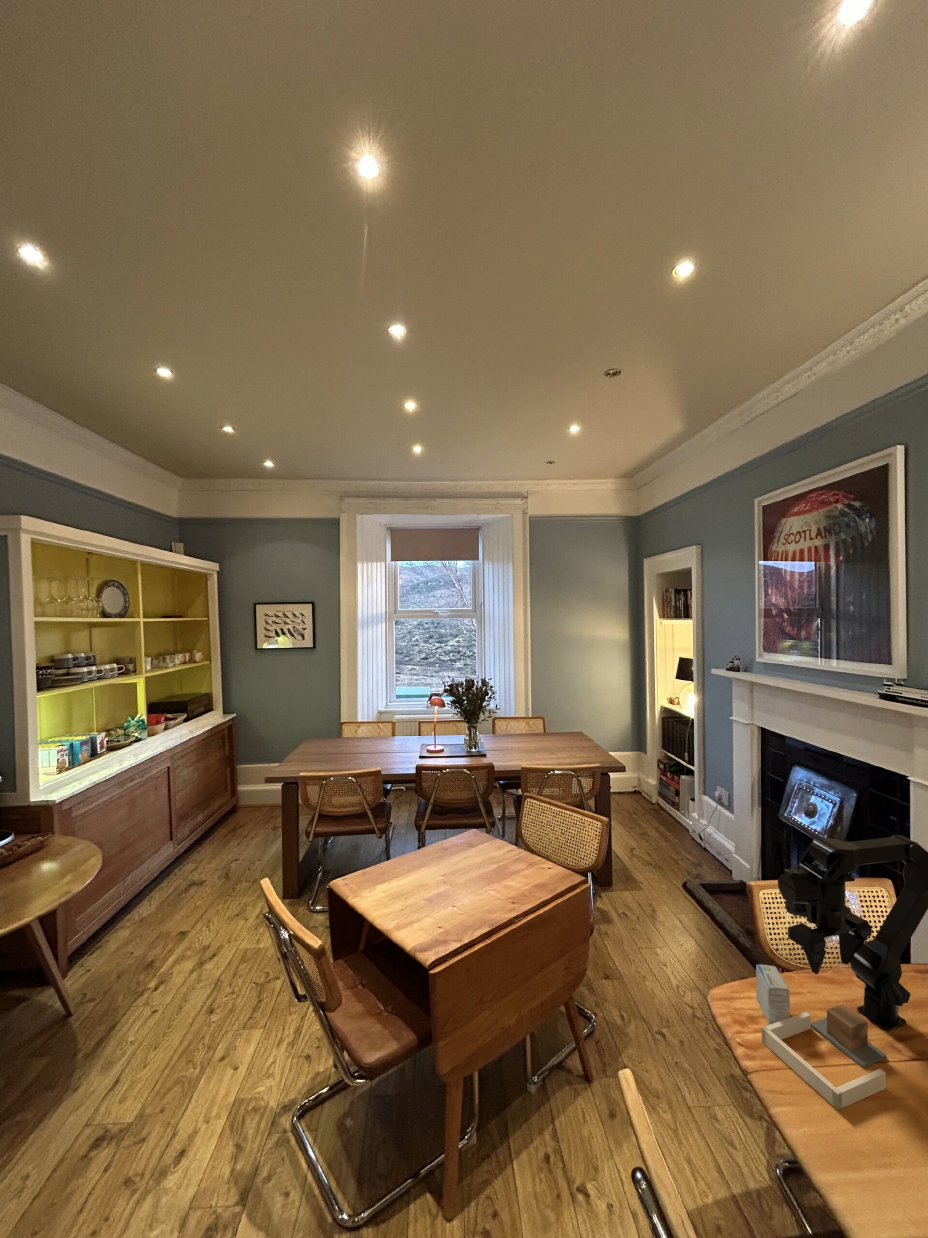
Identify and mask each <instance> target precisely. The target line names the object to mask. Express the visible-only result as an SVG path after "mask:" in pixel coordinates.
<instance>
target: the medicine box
mask: <svg viewBox="0 0 928 1238" xmlns="http://www.w3.org/2000/svg"><path fill="white" fill-rule="evenodd" d="M755 969H756V970H755V978H756V979H755V980H756V983H755V985H756V987H755V988H756V993H755V994H756V1001H757V1003H758V1004H759V1006H760V1008H761V1011H762V1012H763V1015H764V1016H765V1018H766V1020H767V1022H768V1025H771V1024H774V1023H776V1022H779V1021H782V1020H785V1019H788V1018H790V1017H791V1004H790V1003H791V1001H790V998H791V996H790V994H791V993H790V989H789V987H788V985H787V983H786V982H785V980H784V978H783V977H782V975H781V973H780V971H779V969H778V968H777V967H776V966H775V965H769V964H768V965H767V964H756V967H755Z"/></svg>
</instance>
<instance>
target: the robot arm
mask: <svg viewBox="0 0 928 1238" xmlns="http://www.w3.org/2000/svg"><path fill="white" fill-rule="evenodd" d="M811 841H812V842H811V843H810V844H809V846H808V847H807V848H806V850H805V852H804V853H803V855H802V856H801V858H800V859H799V860H798V862H797V866H798V867H800V868H799V869H796V868H795V869H793V868H784V874H780V876H779V877H778V879H777V887H778V891H779V893H780V895H781V897H782V899H783V900H785V909H786V912H787V914H790V915H792V916H794V917H803V918H806V921H807V922H809V923H810V924H811V925H812V924H814V925H815V928H811V927H810V926H808V925H806V924H805V923H804V922H802V923H797V924H795V925H791V926H789V927H787V938H788V939H789V940H790V941H792V942H794V943H796V944H797V945H799V946H800V947H801V948H802V950H803V952H804V955H805V956H806V957H805V958H806V959H807V962H808V964H809V967H810V969H811V971H812V973H813V974H815V975H819V972H820V970H821V968H822V965H823V962H824V960H825V959H824V958H825V957H826V954H827V950H826V949H825V948H826V946H827V941H826V939H830V938H832V937H836V936H838V944H839V955H840V961H841V964H844V965H846V966H847V965H848V964H849V965H850V968H851V970H852V972H854V975H855V978H857V979H858V980H860V981H861V982H862V983H864V985H865V987H864V991H863V992H864V995H863V1005H860V1006H857V1011H858V1012H859V1013H861V1014H862V1015H863V1016H865V1017H867V1018H868V1019H870V1020H871V1021H872V1022H873V1023H875V1024H876V1025H878V1026H879V1027H881V1028H882V1029H884V1030H885V1031H892V1030H894V1029H896V1028H899V1027H902V1026H904V1025H907V1020H906V1019H904V1018H903V1017H902V1016H900V1015H899V1011H900V1009H899V1007H903V1005H904V1004H908V1003H909V1001H910V997H911V993H910V991H908V990H907V988H905V987H904V985H902V984H901V983H900V980H901V976H903V975H902V974H903V971H902V964H901V956H902V955H903V953H904V951H905V949H906V947H907V946H908V944H909V942H910V940H911V939H912V937H913V935H914V933H915V932H916V930H917V928H918V927H919V925H920V923H921V921H922V920H923V919H924V916H925V914H926V913H927V911H928V851H927V850H926V849H925V848H924V847H923V846H921V845H920V843H918V842H916V841H914V840H913V839H909V838H907V837H905V836H903V835H900V834H895V835H892V836H890V837H880V838H872V839H863V840H854V841H846V840H845V841H844V840H840V839H836V838H828V837H817V838H814V839H812V840H811ZM895 861H902V862H903V863H904V867H903V870H902V873H903V880H904V886H903V888H902V890H901V892H900V893H899V896H898V897H897V899H896V900H895V902H894V904H893V905H892V907H891V909H890V910H889V912H888V914H887V915H886V917H885V919H884V921H883V923H882V924H881V926H880V927H879V930H878V931H877V933H876V935H875V936H874V938H873V939H871V940H868V938H869V937H871V936H872V934H873V933H872V928H873V927H872V926H871V924H870V923H869V921H868V920H867V919H864V918H862V917H861V916H858V915H856V914H855V913H853V912H851V907H849V906H847V905H846V882H850V883H851V882H855V881H856V879H855V877H853V875H851V874H850V873H853V872H855V871H856V870H857V869H858V868H859V867H860V866H864V865H871V864H878V863H879V864H880V863H887V862H895ZM814 863H816V864H818V865H819V866H820V867H822V868H824V869H821V868H820V867H818V866H817V865H815V864H814ZM867 940H868V941H867Z"/></svg>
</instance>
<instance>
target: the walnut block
mask: <svg viewBox="0 0 928 1238" xmlns="http://www.w3.org/2000/svg"><path fill="white" fill-rule="evenodd" d="M826 1018H827V1033H828V1034H829V1035H830V1036H832V1037H833V1038H834V1039H836V1040H837V1041H838V1042H839V1043H841V1044H842V1045H843V1046H845V1047H846V1048H847V1049H848V1050H850V1051H853V1050H856V1049H858V1048H861V1047H863V1046H866V1045H868V1042H869V1041H868V1039H869V1038H868V1037H869V1035H868V1034H869V1033H868V1031H869V1029H868V1027H869V1026H868V1020H867V1019H865V1018H864V1017H862V1016H861V1015H859V1014H858V1013H857V1012H855V1011H854V1010H853V1009H851V1008H850V1007H848V1006H847V1005H845V1004H844V1003H843V1004H840V1005H836V1006H833V1007H831V1008H828V1009H826Z"/></svg>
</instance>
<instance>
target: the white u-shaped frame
mask: <svg viewBox="0 0 928 1238" xmlns="http://www.w3.org/2000/svg"><path fill="white" fill-rule="evenodd" d="M811 1020H812V1018H811V1014H810V1013H809V1012H808V1011H804V1012H802V1013H799V1014H796V1015H793V1016H790V1018H788V1019H785V1020H782V1021H779V1022H776V1023H774V1024H771V1025H769V1024H768V1025H765V1026H763V1027H761V1042H762V1043H763V1044H764V1045H765V1046H766V1047H767V1048H768V1049H769V1050H770V1051H772V1052H773V1053H774V1054H775V1055H776V1056H777V1057H778V1058H779V1059H781V1060H782V1062H784V1063H785V1064H786V1065H787V1066H788V1067H789V1068H791V1070H793V1071H794V1072H795V1073H796V1074H798V1076H799V1077H800V1078H802V1080H804V1081H805V1082H806V1083H807V1084H808V1085H809V1086H810V1087H811V1088H813V1089H814V1090H815V1092H817V1093H818V1094H819V1095H821V1097H822V1098H823V1099H824V1100H826V1101H827V1102H828V1103H829V1104H830V1105H832V1107H834V1109H836V1110H837V1111H839V1110H841V1109H844V1108H847V1107H848V1106H850V1105H853V1104H855V1103H857V1102H859V1101H861V1100H864V1099H865V1098H868V1097H870V1096H872V1095H874V1094H876V1093H879V1092H880V1091H881V1092H882V1091H884V1090H885V1089H887V1088H886V1086H887V1082H886V1080H887V1079H886V1078H887V1077H886V1076H887V1073H886V1072H885V1071H884V1070H883V1069H881V1068H877V1069H876V1070H873V1071H871V1072H869V1073H867V1074H865V1075H862V1076H860V1077H858V1078H855V1079H853V1080H851V1081H848V1082H847V1083H844V1084H841V1085H839V1086H837V1087H836V1086H834V1084H832V1083H831V1081H829V1080H828V1079H827V1078H826V1077H825V1076H824V1075H822V1074H821V1073H820V1072H818V1071H817V1070H816V1069H815V1068H814V1067H813V1066H811V1065H810V1064H809V1063H808V1062H807V1061H806V1060H804V1058H803V1057H801V1056H800V1055H799V1054H798V1053H797V1052H796V1051H794V1050H793V1049H792V1048H791V1047H789V1045H787V1043H785V1042H784V1041H783V1040H785V1039H787V1038H789V1037H792V1036H794V1035H798V1034H800V1033H802V1032H806V1031H808V1030H811V1029H812V1027H811V1023H812V1021H811Z"/></svg>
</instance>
